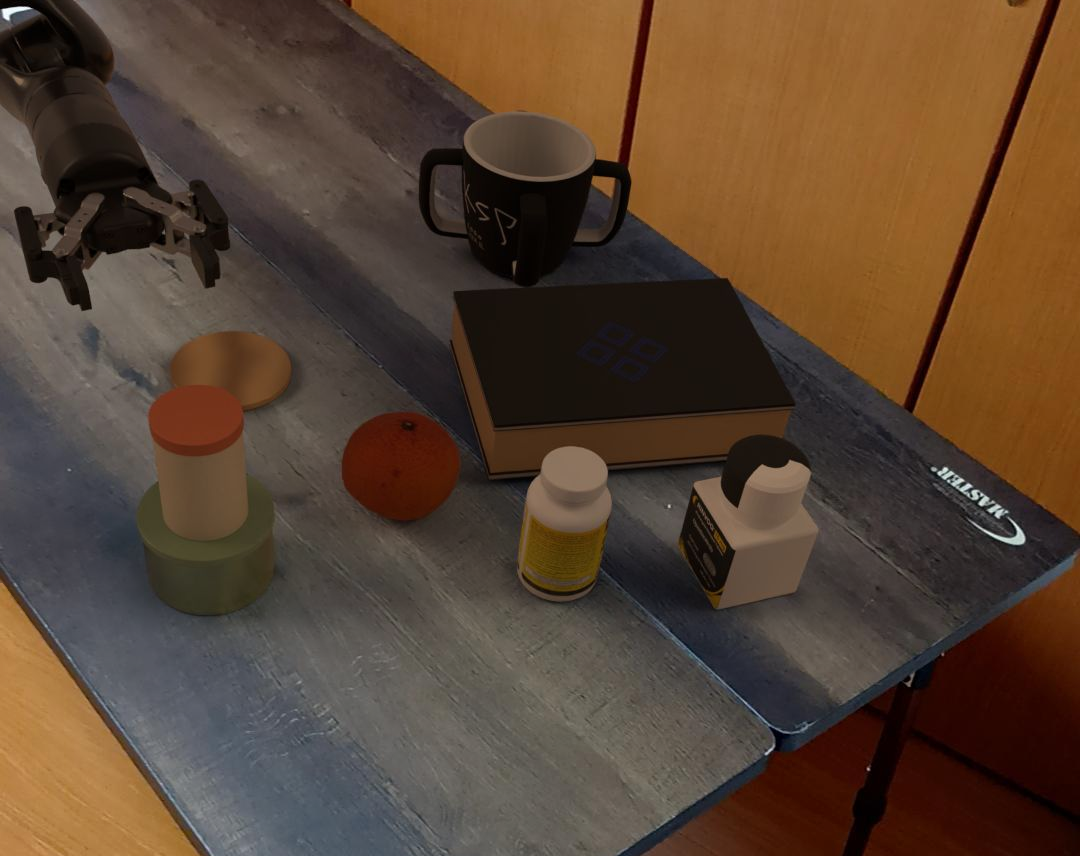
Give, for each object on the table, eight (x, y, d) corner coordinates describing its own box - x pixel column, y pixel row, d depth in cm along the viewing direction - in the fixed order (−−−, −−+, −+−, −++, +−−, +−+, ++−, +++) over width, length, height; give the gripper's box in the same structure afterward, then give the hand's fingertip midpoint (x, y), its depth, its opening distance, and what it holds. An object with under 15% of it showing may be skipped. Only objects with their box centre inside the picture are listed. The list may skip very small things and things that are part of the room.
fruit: (474, 481, 106) (482, 406, 100) (426, 553, 100) (431, 477, 94) (375, 445, 108) (377, 369, 102) (322, 514, 102) (321, 436, 96)
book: (448, 351, 117) (453, 290, 112) (712, 336, 123) (727, 277, 118) (487, 487, 106) (494, 425, 101) (776, 463, 111) (796, 403, 107)
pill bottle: (609, 595, 99) (633, 490, 91) (533, 613, 97) (551, 507, 89) (578, 537, 103) (598, 431, 95) (504, 553, 101) (518, 446, 93)
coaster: (176, 417, 107) (175, 412, 107) (165, 341, 114) (164, 335, 113) (299, 405, 110) (299, 400, 109) (282, 331, 116) (282, 326, 116)
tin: (150, 626, 92) (141, 569, 88) (140, 531, 98) (131, 472, 94) (285, 608, 95) (283, 551, 90) (267, 516, 101) (264, 458, 97)
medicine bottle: (675, 545, 103) (705, 431, 95) (755, 528, 106) (792, 415, 97) (714, 612, 99) (750, 499, 90) (797, 593, 101) (839, 481, 93)
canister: (165, 547, 90) (152, 450, 83) (158, 486, 93) (144, 388, 87) (255, 536, 91) (248, 440, 85) (244, 477, 95) (237, 380, 89)
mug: (400, 239, 128) (404, 126, 119) (524, 191, 136) (536, 83, 128) (509, 325, 121) (522, 212, 112) (633, 270, 129) (654, 160, 120)
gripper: (-15, 134, 95) (32, 261, 86) (182, 107, 100) (247, 225, 91) (5, 223, 100) (51, 352, 91) (190, 193, 106) (252, 313, 96)
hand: (149, 288), depth 91 cm, fingers open, 8 cm apart
